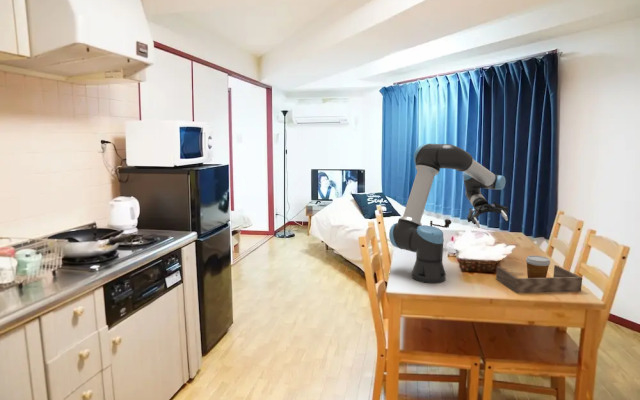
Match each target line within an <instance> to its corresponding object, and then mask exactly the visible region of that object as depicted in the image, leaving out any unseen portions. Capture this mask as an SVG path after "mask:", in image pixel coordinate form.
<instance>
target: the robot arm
mask: <svg viewBox="0 0 640 400" xmlns="http://www.w3.org/2000/svg"><path fill="white" fill-rule="evenodd" d="M413 163H414V165H415V169H416V175H415V177H414V181H413V184H412V187H411V189H410V193H409V196H408V200H407V203H406V205H405V209H404V213H403V215H402V216H401V217H399V218H398V220H397V222H396V223H393V225H391V227H390V229H389V231H388V232H389V235H388V236H389V238H388V239H389V240H390V243H391V245H392V246H393V247H395V248H397V249H400V250H405V251H409V252H413V253H416V255H415V262H414V265H413V268H412V270H411V278H412V279H413V280H414V281H418V282H421V283H430V284H438V283H443V282H445V281H446V278H447V274H446V270H445V267H444V264H443V256H444V232H443V231H442V229H440V228H438V227H437V226H434V225H432V226H430V225H425V224H423V223H422V218H423V215H424V214H423V213H424V211H425V209H426V208H425V207H426V205H427V201H428V198H429V195H430V191H431V189H432V185H433V182H434V178H435V177H436V176H437V175H439V174H440V170H441V169H450V170H456V171H457V172H462V177H463V183H464V184H463V185H464V189H465V191H464V193H465V196H466V197H465V198H466V199H467V200H468V201H469V203H470V205H471V206H472V207H473V209H472V208H468V210H469V212H468V214H467V217H466V219H467V223H472V224H473V225H476V228H478V229H479V228H481V227H480V222H479V221H478V219H477V218H478V217H479V216H481V215H482V214H486V213H497V214H501V216H502V217H503V219H504V220H505V221H506V222H507V221H509V220H508V212H509V209H508V206H505V205H501V204H499V203H497V202H495V201H493V203H489V201H488V200H487V199H486V198H485V197H484V195H483V194H482V192H481V191H482V190H481V189H487V190H503V189H504V188H505V186H506V178H505V176H504V175H499V174H496V173H493V172H492V171H490V170H489V169H488V168H486V167H485V166H483V165H482V164H480V162H478V161H476V160H475V159H474V158H473V155H472V154H470V153H469V152H468V151H466V150H465V149H463V148H460V147H459V146H457V145H454V144H451V143H425V144H424V143H423V144H421V145H419V146H418V147H417V148H416V150H415V151H414V154H413ZM422 224H423V225H422Z"/></svg>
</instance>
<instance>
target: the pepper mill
mask: <svg viewBox="0 0 640 400" xmlns="http://www.w3.org/2000/svg"><path fill="white" fill-rule="evenodd" d="M451 224H452V220H451V219H449V218H447V219H444V225H442V224H441V225H440V224H437V223H435V224H434V223H433V220H430V223H429V226H433V227H440V228H446V229H447V228H448V229H449V228H450V225H451Z"/></svg>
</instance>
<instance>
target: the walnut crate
mask: <svg viewBox="0 0 640 400" xmlns="http://www.w3.org/2000/svg"><path fill="white" fill-rule="evenodd" d="M495 279H496V280H497V281H498V282H500V283H501V284H502V285H503V286H505V287H506V288H508V289H510V290H511V291H512V292H514V293H515V294H533V293H537V294H538V293H568V292H569V293H571V292H572V293H573V292H574V293H575V292H577V293H578V292H582V286H583V277H582V276H580V275H577V274H575V273H574V272H572V271H569V270H567V269H566V268H563V267H561V266H559V265H556V264H555V265H554V266H553V276H552V277H546V278H528V277H517V276H516V275H513V274H511V272H509V271H507V270H506V269H504V268H502V267H501V266H496V276H495Z"/></svg>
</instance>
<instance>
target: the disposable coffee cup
mask: <svg viewBox="0 0 640 400" xmlns="http://www.w3.org/2000/svg"><path fill="white" fill-rule="evenodd" d="M525 262H526V270H527V272H526V275H527V278H547V275H548V271H549V268H550V265H551V261H550V258H549V257H546V256H542V255H528V256H526V258H525Z"/></svg>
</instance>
